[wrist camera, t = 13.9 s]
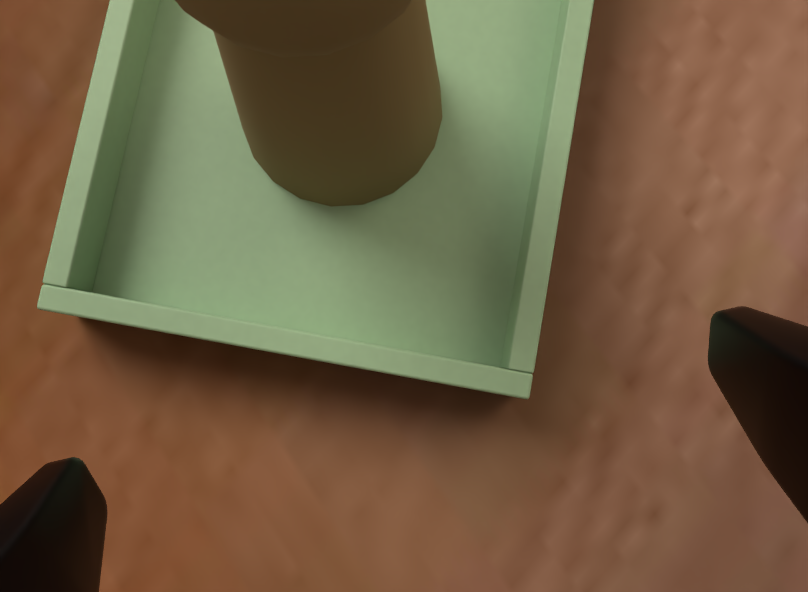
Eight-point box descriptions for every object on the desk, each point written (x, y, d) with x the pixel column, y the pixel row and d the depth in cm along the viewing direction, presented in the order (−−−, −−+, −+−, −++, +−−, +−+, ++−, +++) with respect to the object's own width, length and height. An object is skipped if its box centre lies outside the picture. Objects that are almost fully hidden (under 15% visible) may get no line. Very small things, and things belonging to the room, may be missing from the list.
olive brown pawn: (393, 239, 19) (384, 77, 8) (207, 158, 19) (-43, -103, 8) (474, 57, 20) (564, -319, 9) (291, -19, 20) (159, -477, 9)
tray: (515, 396, 19) (529, 400, 17) (73, 314, 20) (34, 308, 18) (594, -84, 21) (616, -134, 19) (183, -155, 21) (159, -212, 19)
